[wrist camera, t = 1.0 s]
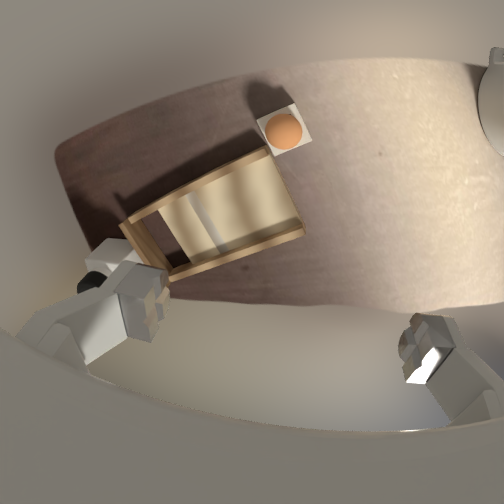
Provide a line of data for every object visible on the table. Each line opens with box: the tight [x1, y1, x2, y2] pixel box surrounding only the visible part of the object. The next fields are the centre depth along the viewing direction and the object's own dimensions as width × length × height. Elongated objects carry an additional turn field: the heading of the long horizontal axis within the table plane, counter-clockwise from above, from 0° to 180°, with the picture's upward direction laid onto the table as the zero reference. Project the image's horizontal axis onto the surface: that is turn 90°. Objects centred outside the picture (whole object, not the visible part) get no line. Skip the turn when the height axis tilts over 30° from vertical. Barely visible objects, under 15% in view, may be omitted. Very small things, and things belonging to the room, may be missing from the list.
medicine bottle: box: [77, 238, 144, 294], centre depth 42 cm, size 7×7×12 cm
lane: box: [118, 145, 306, 288], centre depth 39 cm, size 23×12×4 cm, turn 117°
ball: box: [265, 114, 302, 150], centre depth 29 cm, size 4×4×4 cm
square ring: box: [256, 103, 312, 156], centre depth 32 cm, size 5×5×2 cm
